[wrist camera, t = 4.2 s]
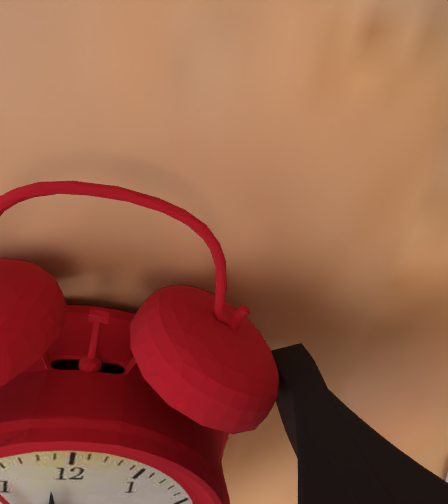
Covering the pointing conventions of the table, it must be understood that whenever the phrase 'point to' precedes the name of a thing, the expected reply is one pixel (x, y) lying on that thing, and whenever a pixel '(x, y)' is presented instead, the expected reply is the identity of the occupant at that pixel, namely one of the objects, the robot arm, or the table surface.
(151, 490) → the alarm clock
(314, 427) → the robot arm
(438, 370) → the table surface
